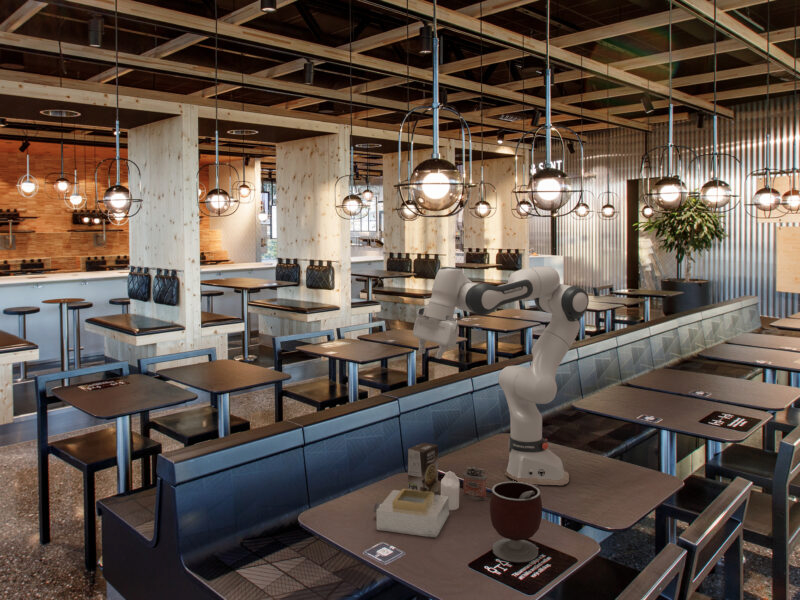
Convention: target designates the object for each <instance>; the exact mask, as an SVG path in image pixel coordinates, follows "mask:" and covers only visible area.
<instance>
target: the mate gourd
mask: <svg viewBox="0 0 800 600" xmlns="http://www.w3.org/2000/svg"><path fill="white" fill-rule="evenodd" d="M542 502H543V501H542V496H541V491H540V489H539V488H538V487H537V486H536V485H531V484H528V483H523V482H516V481H504V482H499V483H496V484H494V485H493V486H492V488H491V493H490V500H489V515H490V516H489V517H490V521H491V525H492V527H493V528H494V530H495V531H496V533H497V534H498V535H499V536H501V537H502V538H503V539H499V540H497V541H495V542H494V543H493V545H492V552H493V554H494V555H495V556H496V557H497V558H498V559H501V560H504V561H506V562H511V563H512V562H513V563H528V562H531V561H533V560H535V559H536V558H537V557H538V556H539V549H538V547H537V546H536V545H535V544H534V543H532V542H530V541H528V540H529V539H530V538H532V537H533V536H534V535H535V534H536V533H537V532H538V531H539V529H540V525H541V521H542V516H543V504H542Z"/></svg>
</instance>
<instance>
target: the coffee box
mask: <svg viewBox="0 0 800 600" xmlns="http://www.w3.org/2000/svg"><path fill="white" fill-rule="evenodd" d="M407 451H408V452H407V454H408V455H407V456H408V457H407V466H408V467H407V469H408V470H407V489H411V490H420V491H429V492H434V494H436V493H438V492H439V445H437V444H435V443H434V444H433V443H427V442H421V443H419V444H416V445H414V446H411V447H409V448H408V450H407Z"/></svg>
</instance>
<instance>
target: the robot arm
mask: <svg viewBox="0 0 800 600" xmlns="http://www.w3.org/2000/svg"><path fill="white" fill-rule="evenodd" d="M530 300H533V301H534V304H535V307H536V308H537V309H539V310H540V311H541V312H544V313H547V314H548V313H549V314H551V319H550V322H549V323H548V324H547V326H546V327H545V329H544V330H543V332H542V333H540V336H539V337H538V339H537V340H536V341H535V344H533V346H532V348H531V355H532V362H531V364H530V366H529V367H525V366H522V365H508V366H505V367H504V368H503V369H501V371H500V373H499V376H498V384H499V386H500V388H501V389H502V391H503V394H504V396H505V399H506V403H507V406H508V411H509V419H510V422H509V423H510V424H509V425H510V434H509V438H508V452H509V457H508V464H507V468H506V471H507V472H508V473H509V474H511V475H512V476H515V477H517V478H538V479H551V480H560V479H562V478H563V477H564V470H565V469H564V465H563V461H562V459H561V458H560V457H559V456H558V455H557V454H555V453H554V452H553V451H551V450H550V449H549V443H548V439H547V438H544V437H543V416H542V413H541V412H540V411H539V409H538V407H537V405H536V404H538V405H540V404H541V405H543V404H544V405H545V404H549V403H551V402H552V401H554V399H555V398H556V395H557V391H558V386H557V385H558V384H557V382H556V375H557V372H558V370H559V369H558V368H559V366H560V365H561V363H562V361H563V359H564V358H565V357H566V355H567V353H568V352H569V350H570V348H571V347H572V345H573V344H574V342H575V340H576V338H577V336H578V333H579V332H580V328H581V327H580V326H581V325H580V322H579V320H581V319H582V318H583V317H584V314H585V313H586V311H587V309H588V307H589V301H590V300H589V294H588V292H587V290H585V289H583V288H582V287H579V286H576V285H568V284H562V283H561V277H560V274H559V272H558V271H557V270H556V269H555V268H553V267H552V266H546V265H545V266H543V265H542V266H541V265H540V266H532V267H526V268H525V267H524V268H520V269H518V270H516V271H514V272H511V273H510V275H509V277H508V280H507V283H505V284H504V283H503V284H499V285H493V284H490V283H479V282H478V283H477V282H473V281H471V280H470V279H469V278H468V277H467V276H466V275H465V273H464V272H463V269H462V268H460V267H452V266H442V267H440V268H439V270H438V271H437V272H436V275H435V278H434V281H433V284H432V289H431V296H430V299H429V301H428V303H427V305H425V306H423V307H420V308H418V309H417V311H416V315H417V316H416V319H415V321H414V325H413V330H412V335H413V336H412V337H414V338H418V350H417V352H418V353H419V354H425V353H426V347H425V345H426V343H427V342H428V341H429V342H433V343H436V344H438V345H439V346H438V351H437V352H436V351H435V353H434V358H435V359H439V360H440V359H441V360H442V357H443V355H444V353H445V352H446V350H447V348H448V347H450V348H454V347H455V346H456V345H457V342H458V336H459V321H458V319H457V318H456V317H454V315H455V310H456V309H458V310H460V311H464V312H470V313H474V314H477V315H480V316H487V315H489V314H492V313H494V311H496V310H497V309H498V308H499V307H501V306H505V305H508V304H510V303H514V302H517V301H518V302H519V301H530Z"/></svg>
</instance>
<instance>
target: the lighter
mask: <svg viewBox="0 0 800 600" xmlns="http://www.w3.org/2000/svg"><path fill="white" fill-rule="evenodd" d="M485 471H486V470H485V469H484V468H479V467H478V468H477V467H476V466H472V467H471V466H467V467H466V472H463V473H462V477H463V487H462V488H463V492H462V497H464V498H467V499H471V500H476V501H477V500H478V501H486V500H487V478H488V477H487V475H485ZM485 499H486V500H485Z"/></svg>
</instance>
